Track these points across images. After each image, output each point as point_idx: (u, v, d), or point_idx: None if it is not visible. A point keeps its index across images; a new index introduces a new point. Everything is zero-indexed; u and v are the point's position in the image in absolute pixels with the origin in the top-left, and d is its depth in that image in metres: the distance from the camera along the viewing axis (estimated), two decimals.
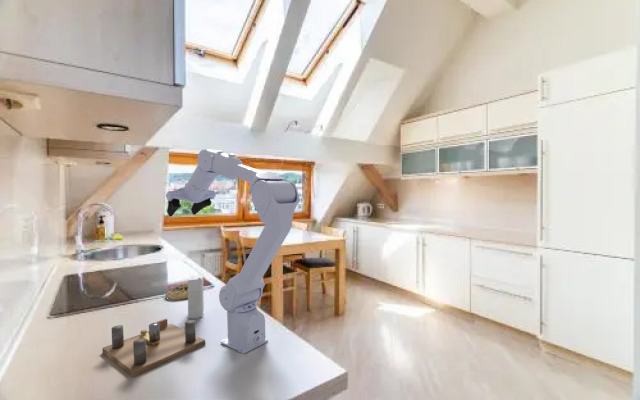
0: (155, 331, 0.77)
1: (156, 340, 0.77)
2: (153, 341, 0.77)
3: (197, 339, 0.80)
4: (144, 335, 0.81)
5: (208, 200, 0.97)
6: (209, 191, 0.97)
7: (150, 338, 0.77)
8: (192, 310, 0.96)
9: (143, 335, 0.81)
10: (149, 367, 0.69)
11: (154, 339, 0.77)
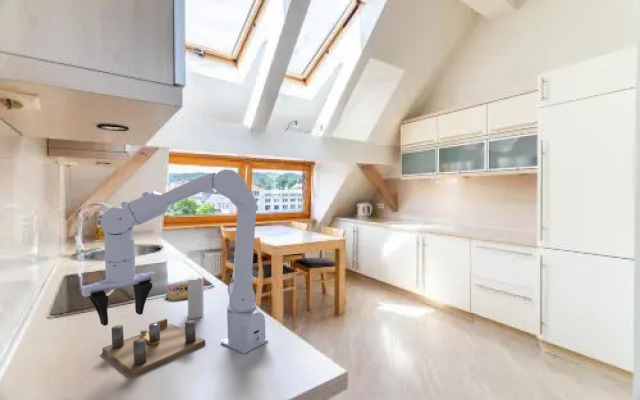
0: (155, 331, 0.77)
1: (156, 340, 0.77)
2: (153, 341, 0.77)
3: (197, 339, 0.80)
4: (144, 335, 0.81)
5: (147, 283, 0.76)
6: (146, 273, 0.77)
7: (150, 338, 0.77)
8: (192, 310, 0.96)
9: (143, 335, 0.81)
10: (149, 367, 0.69)
11: (154, 339, 0.77)
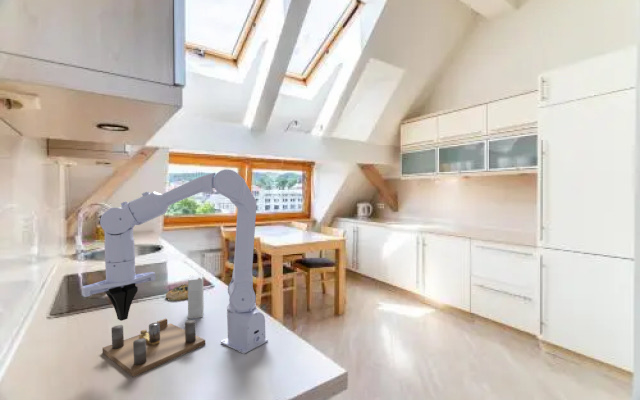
0: (155, 331, 0.77)
1: (156, 340, 0.77)
2: (153, 341, 0.77)
3: (197, 339, 0.80)
4: (144, 335, 0.81)
5: (132, 287, 0.73)
6: (145, 274, 0.77)
7: (150, 338, 0.77)
8: (192, 310, 0.96)
9: (143, 335, 0.81)
10: (149, 367, 0.69)
11: (154, 339, 0.77)
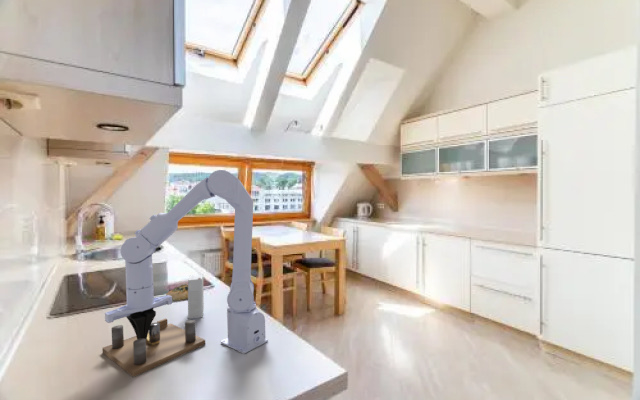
0: (155, 331, 0.77)
1: (156, 340, 0.77)
2: (153, 341, 0.77)
3: (197, 339, 0.80)
4: None
5: (151, 311, 0.77)
6: (163, 297, 0.81)
7: (150, 338, 0.77)
8: (192, 310, 0.96)
9: None
10: (149, 367, 0.69)
11: (154, 339, 0.77)
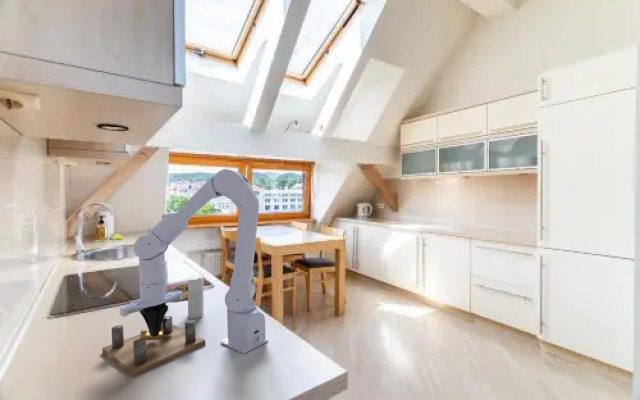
0: (171, 323, 0.82)
1: (171, 331, 0.82)
2: (170, 332, 0.82)
3: (197, 339, 0.80)
4: (147, 334, 0.82)
5: (163, 305, 0.80)
6: (174, 293, 0.84)
7: (166, 331, 0.81)
8: (192, 310, 0.96)
9: (146, 334, 0.81)
10: (149, 367, 0.69)
11: (170, 330, 0.82)
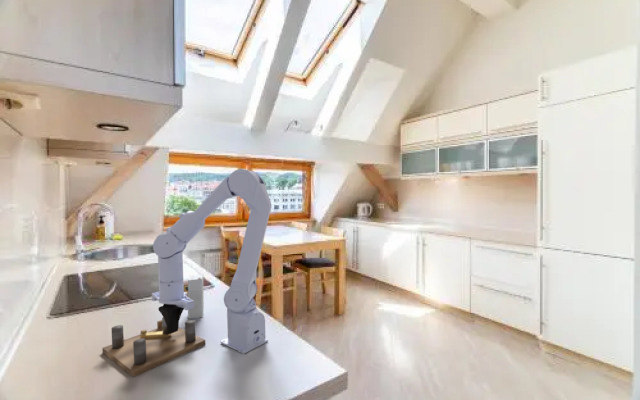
0: None
1: None
2: None
3: (197, 339, 0.80)
4: (147, 334, 0.82)
5: (171, 307, 0.79)
6: (189, 300, 0.79)
7: None
8: (192, 310, 0.96)
9: (146, 334, 0.81)
10: (149, 367, 0.69)
11: None
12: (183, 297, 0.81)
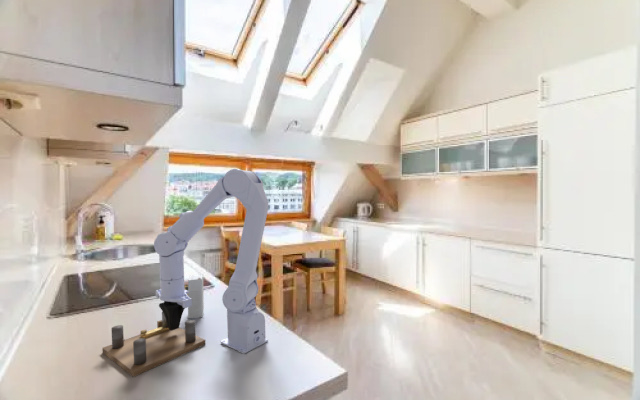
0: None
1: None
2: None
3: (197, 339, 0.80)
4: (148, 332, 0.82)
5: (172, 305, 0.81)
6: (188, 298, 0.80)
7: None
8: (192, 310, 0.96)
9: (147, 333, 0.82)
10: (149, 367, 0.69)
11: None
12: (183, 295, 0.82)
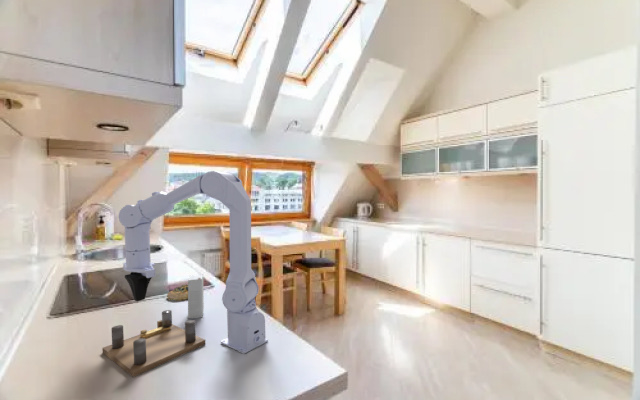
0: None
1: None
2: (171, 324, 0.87)
3: (197, 339, 0.80)
4: (148, 332, 0.82)
5: (136, 275, 0.82)
6: (152, 269, 0.82)
7: (169, 323, 0.86)
8: (192, 310, 0.96)
9: (147, 333, 0.82)
10: (149, 367, 0.69)
11: (171, 322, 0.87)
12: (148, 267, 0.84)
